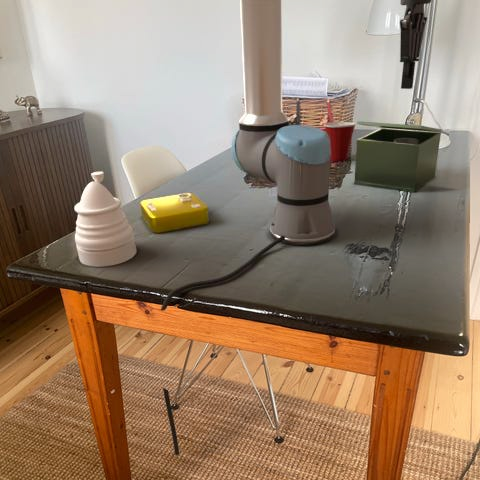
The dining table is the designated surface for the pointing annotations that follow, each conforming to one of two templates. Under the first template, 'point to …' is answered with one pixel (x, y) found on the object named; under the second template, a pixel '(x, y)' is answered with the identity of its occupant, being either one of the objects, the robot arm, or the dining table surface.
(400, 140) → the tumbler
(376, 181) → the green open box
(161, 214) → the yellow box
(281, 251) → the dining table surface
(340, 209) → the dining table surface
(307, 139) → the robot arm
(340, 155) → the plastic cup
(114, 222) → the honey pot
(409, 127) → the lid
